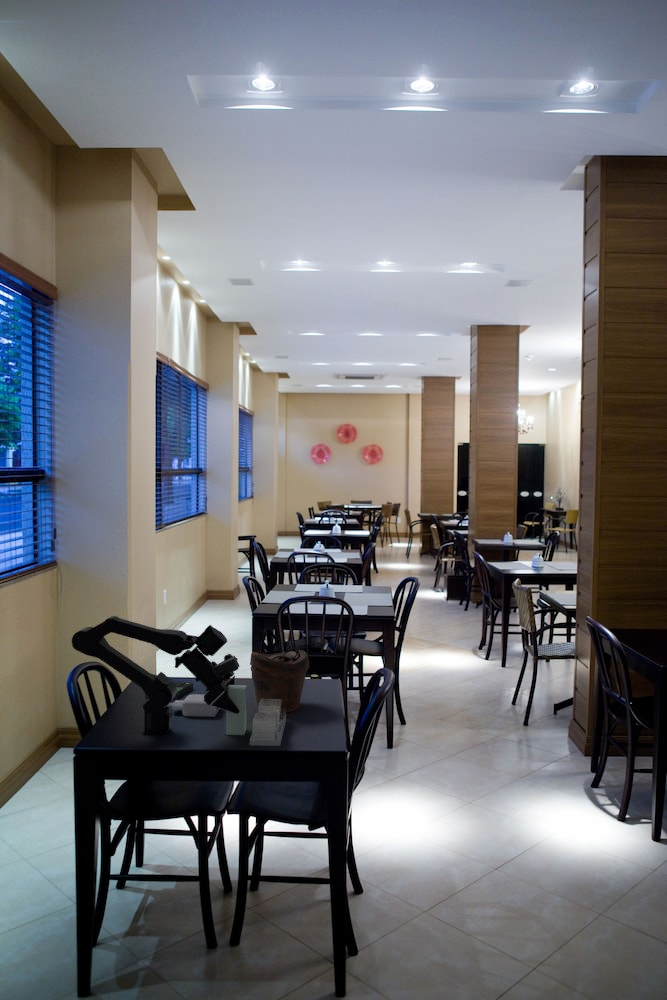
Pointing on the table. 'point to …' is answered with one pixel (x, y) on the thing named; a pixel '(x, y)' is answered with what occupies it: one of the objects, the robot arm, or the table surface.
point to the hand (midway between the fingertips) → (240, 707)
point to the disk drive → (181, 689)
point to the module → (239, 697)
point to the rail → (268, 723)
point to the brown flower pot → (280, 676)
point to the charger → (195, 706)
